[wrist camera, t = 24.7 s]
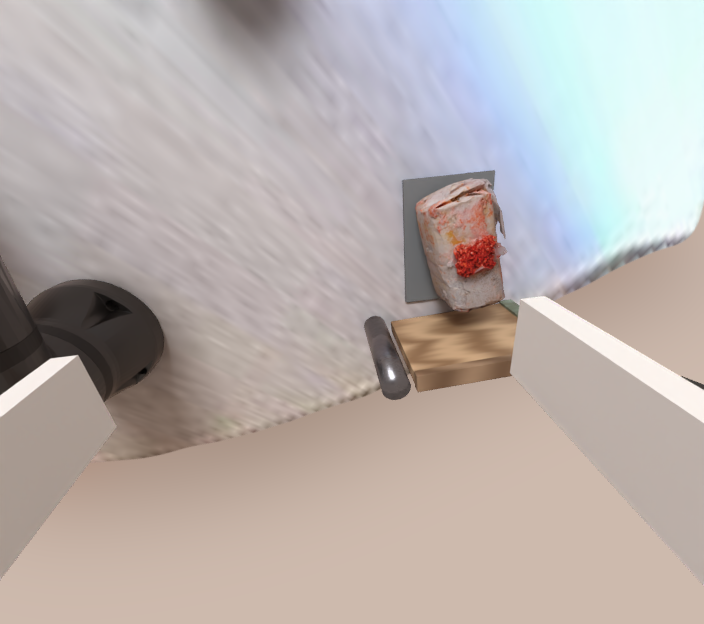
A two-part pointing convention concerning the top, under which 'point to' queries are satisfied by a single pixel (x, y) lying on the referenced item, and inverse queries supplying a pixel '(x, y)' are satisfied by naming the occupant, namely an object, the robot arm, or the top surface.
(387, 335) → the gate post
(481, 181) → the food item
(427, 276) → the mat
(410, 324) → the gate
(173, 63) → the top surface
